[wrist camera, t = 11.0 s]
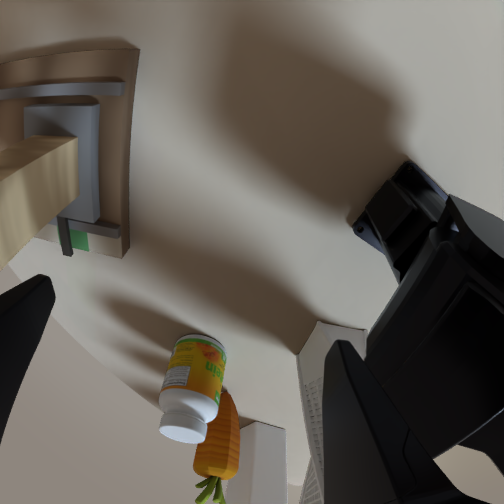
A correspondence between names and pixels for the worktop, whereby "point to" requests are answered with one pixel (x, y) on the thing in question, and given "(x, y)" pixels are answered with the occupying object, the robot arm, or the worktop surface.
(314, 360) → the skyscraper
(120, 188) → the board
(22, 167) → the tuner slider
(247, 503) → the white square bottle
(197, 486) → the carrot
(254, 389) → the worktop surface
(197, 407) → the supplement bottle
